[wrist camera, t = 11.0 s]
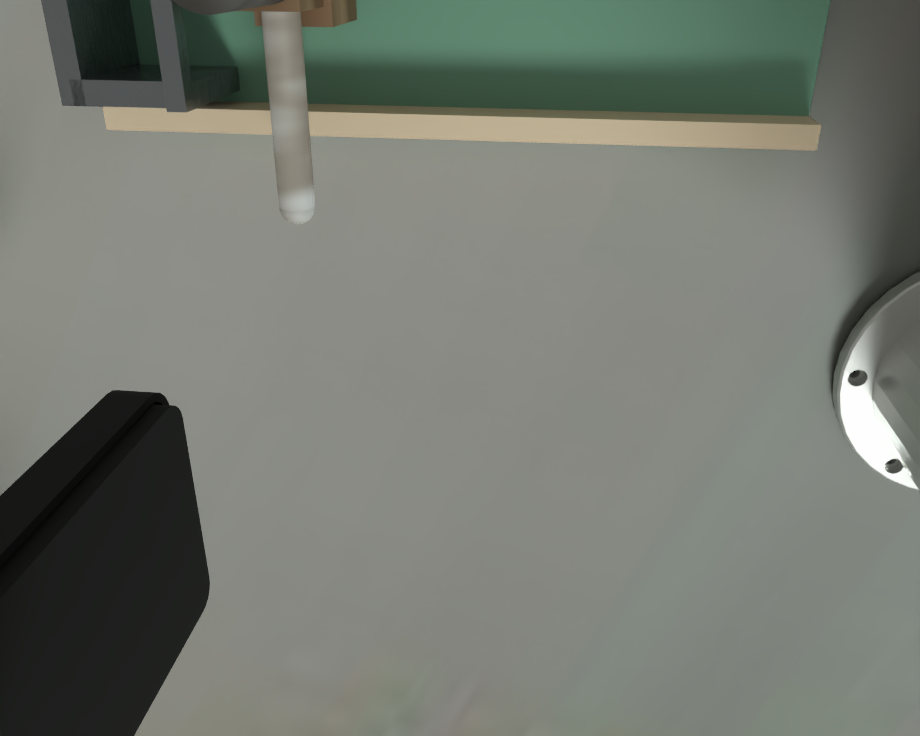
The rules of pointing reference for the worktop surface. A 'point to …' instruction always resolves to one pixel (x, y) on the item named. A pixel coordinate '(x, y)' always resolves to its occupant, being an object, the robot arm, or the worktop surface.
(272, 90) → the kicker
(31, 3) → the worktop surface
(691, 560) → the worktop surface
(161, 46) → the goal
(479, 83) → the pitch
